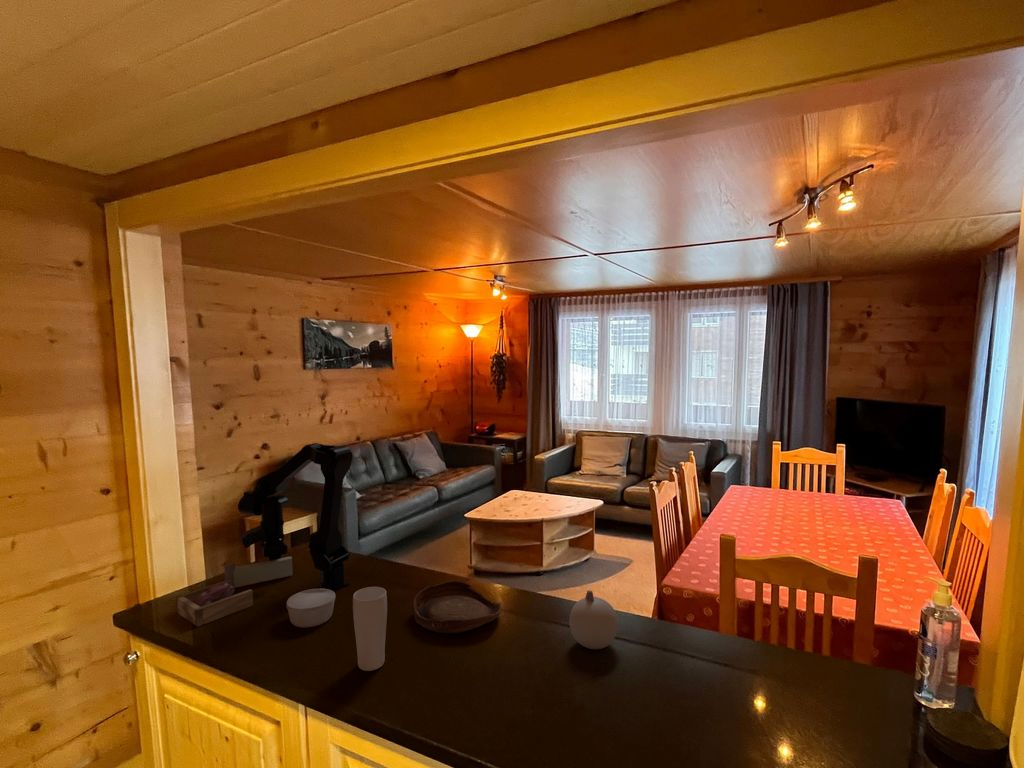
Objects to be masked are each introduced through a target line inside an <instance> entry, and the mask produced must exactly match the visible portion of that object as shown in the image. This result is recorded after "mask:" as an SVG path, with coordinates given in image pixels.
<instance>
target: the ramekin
mask: <svg viewBox="0 0 1024 768" xmlns="http://www.w3.org/2000/svg"><path fill="white" fill-rule="evenodd" d="M335 601H336V593H335V592H334V591H331V590H328V589H320V588H311V589H307V590H302V591H299V592H297V593H295V594H292V595H291V596H290V597H289V598H288V599H287V601H286V605H285V606H286V609H287V612H288V617H289V621H290V622H291V624H292V625H293V626H295V627H297V628H302V629H303V628H312V627H317V626H320V625H323V624H325V623H326V622H327V621H328V620H330V618H331V617H332V615H333V613H334V612H333V611H334V607H335V606H334V605H335Z"/></svg>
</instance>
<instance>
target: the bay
mask: <svg viewBox="0 0 1024 768" xmlns="http://www.w3.org/2000/svg"><path fill="white" fill-rule="evenodd" d="M225 583H227V584H228V585H231V586H232V580H231V579H228V580H225V579H224V580H223V581H220V582H217V583H213V584H210V585H208V586H204V587H202V588H201V587H200V588H197V589H196V590H193V591H189V592H186V593H183V594H180V595H177V596H175V609H176V611H175V612H176V613H177V614H178V615H179V616H180V617H183V618H184V619H185V620H187V621H188V622H190V623H192V624H193V625H195V627H200V626H203V624H204V625H206V624H208V623H211V622H213V621H217V620H218V619H222V618H223V617H227V616H230V615H232V614H235V613H237V612H240V611H242V610H245V609H247V608H249V607H250V608H251V607H253V606H254V590H252V589H251V588H249V589H247V590H244V591H241V592H238V593H235V594H232V595H231V596H230V597H227V598H224V599H221V600H219V601H216V602H215V600H216V599H215V600H213V603H210V604H207V605H205V606H202V607H200V606H198V605H196V604H195V603H193V602H194V601H195V600H196V599H197V598H198V597H199V596H200V595H201V594H202V593H203V592H206V591H208V590H209V589H210V588H212V587H214V586H217V585H224V584H225Z"/></svg>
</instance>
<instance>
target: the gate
mask: <svg viewBox="0 0 1024 768" xmlns="http://www.w3.org/2000/svg"><path fill="white" fill-rule="evenodd" d="M223 567H224V581H225V580H228V579H231V580H232V586H233V587H234V588H235V589H236V588H239V587H244V586H249V585H253V584H257V583H259V584H260V583H264V582H267V581H272V580H276V579H281V578H287V577H291V576H293V572H294V571H293V557H292V556H290V555H289V556H285V557H282V558H280V559H275V560H266V561H260V562H255V563H250V564H245V565H239V566H236V563H235V562H227V563H225V564H224V566H223Z"/></svg>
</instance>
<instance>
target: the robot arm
mask: <svg viewBox="0 0 1024 768" xmlns="http://www.w3.org/2000/svg"><path fill="white" fill-rule="evenodd" d="M353 456H354V455H353V451H351V449H350V448H349V447H348V446H346V445H339V446H338V445H337V446H336V445H329V444H328V445H327V444H323V443H318V442H316V443H315V442H313V443H309V444H305V445H304V446H302V448H301V449H300V450H299V451H298V452H297V453H295V454H294V455H293V456H292V457H291V458H290V459H288V460H287V461H286V462H285V463H284V464H282V466H280V467H279V468H278V469H276V470H274V471H271V472H269V473H267V474H265V475H263V476H262V477H260V478H258V480H257V482H256V485H255V487H254V489H253V490H246V491H244V492H243V496H242V497H241V498H240V499H239V501H238V504H237V509H238V512H239V513H240V514H242V515H243V514H244V515H250V516H257V517H258V516H261V520H260V522H259V525H258V526H255V527H253V528H250V529H249V530H247V531H244V532H242V533H241V534H240V535H239V538H240V542H241V543H242V545H243V547H244V548H245V549H248V548H250V547H251V546H252V545H254V544H256V543H259V542H261V549H262V551H261V552H262V555H263V556H262V557H263V558H268V559H269V560H268V561H270V560H275V559H280V558H281V557H282V555H286V554H288V553H289V552H288V549H289V548H288V543H287V542H286V541H284V539H285V533H284V526H285V521H284V507H283V505H284V504H286V503H287V502H289V498H287V497H286V496H284V493H282V492H284V491H285V490H286V489H287V488H288V487H289V485H290V484H291V481H292V479H293V478H294V477H295V476H297V474H298V473H300V472H301V471H302V470H303V469H305V468H306V467H307V466H308V465H309V464H311V463H314V464H315V465H316V464H317V465H319V466H320V471H321V474H322V475H323V477H324V485H323V493H322V500H321V501H322V503H321V510H320V518H319V526H318V529H317V530H316V531H314V532H311V533H310V535H309V545H308V549H309V554H310V556H311V558H312V562H313V566H314V568H315V570H319V571H320V583H318V584H316V588H317V589H328V590H331V591H333V592H334V591H336V590H339V589H341V588H344V587H346V586H348V585H350V582H349V581H346V580H345V565H344V562H346V561H348V560H349V559H350V555H351V552H350V551H349V550H348V549H347V547H346V546H345V545H344V544H343V541H342V540H343V539H342V538H343V537H342V533H341V531H340V529H339V520H340V519H339V518H340V511H341V502H342V494H343V485H344V479H345V477H346V475H347V474H348V472H349V471H350V468H351V465H352V461H353ZM279 493H282V494H279ZM276 494H278V495H277V496H276Z"/></svg>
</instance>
